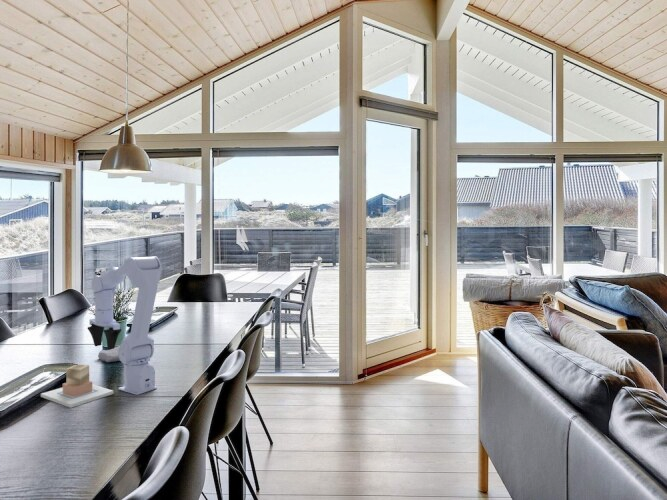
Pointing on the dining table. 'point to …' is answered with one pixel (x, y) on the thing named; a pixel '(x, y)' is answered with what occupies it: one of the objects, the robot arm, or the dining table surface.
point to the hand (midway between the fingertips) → (104, 347)
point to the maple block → (77, 375)
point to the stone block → (109, 355)
